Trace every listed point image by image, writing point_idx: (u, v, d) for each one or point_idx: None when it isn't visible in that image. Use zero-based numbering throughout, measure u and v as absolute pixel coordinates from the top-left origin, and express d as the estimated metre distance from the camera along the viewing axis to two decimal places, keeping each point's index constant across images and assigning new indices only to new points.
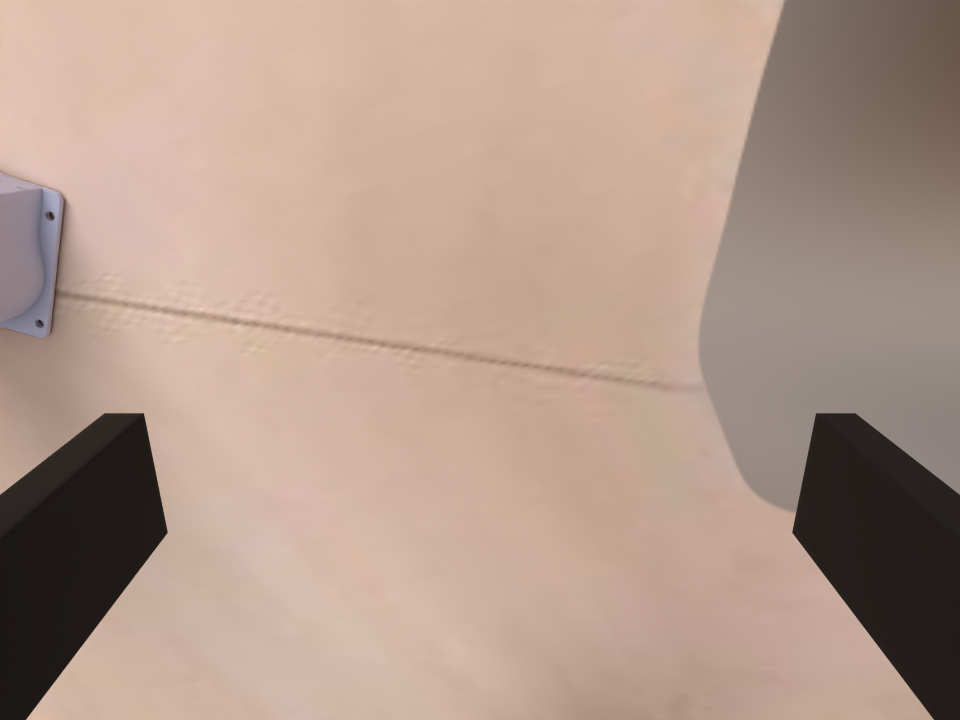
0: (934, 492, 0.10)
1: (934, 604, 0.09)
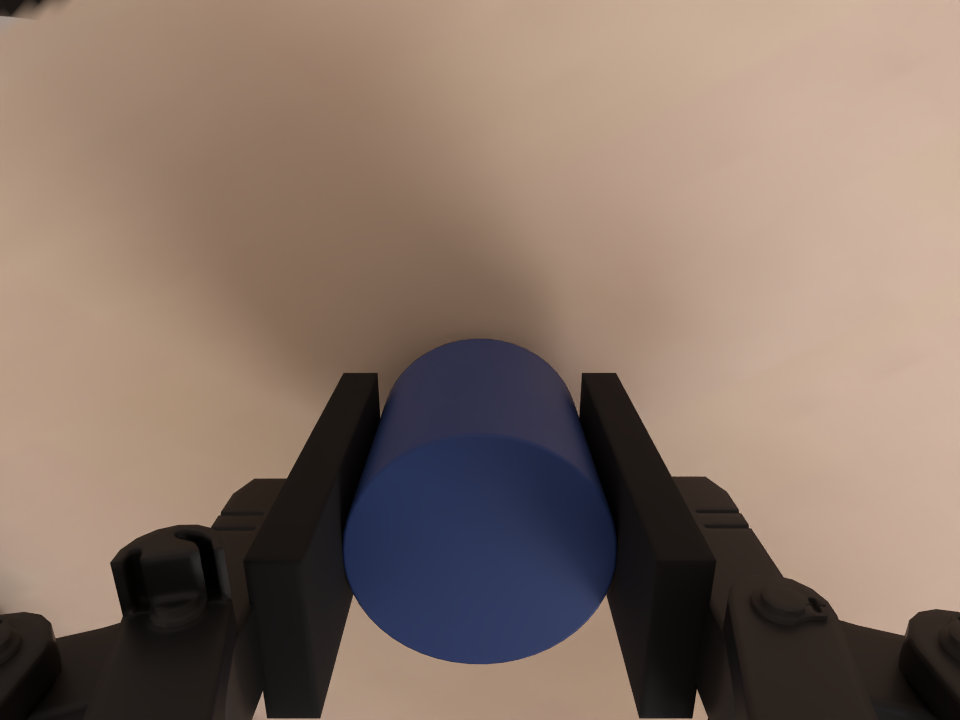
0: (627, 429, 0.12)
1: None
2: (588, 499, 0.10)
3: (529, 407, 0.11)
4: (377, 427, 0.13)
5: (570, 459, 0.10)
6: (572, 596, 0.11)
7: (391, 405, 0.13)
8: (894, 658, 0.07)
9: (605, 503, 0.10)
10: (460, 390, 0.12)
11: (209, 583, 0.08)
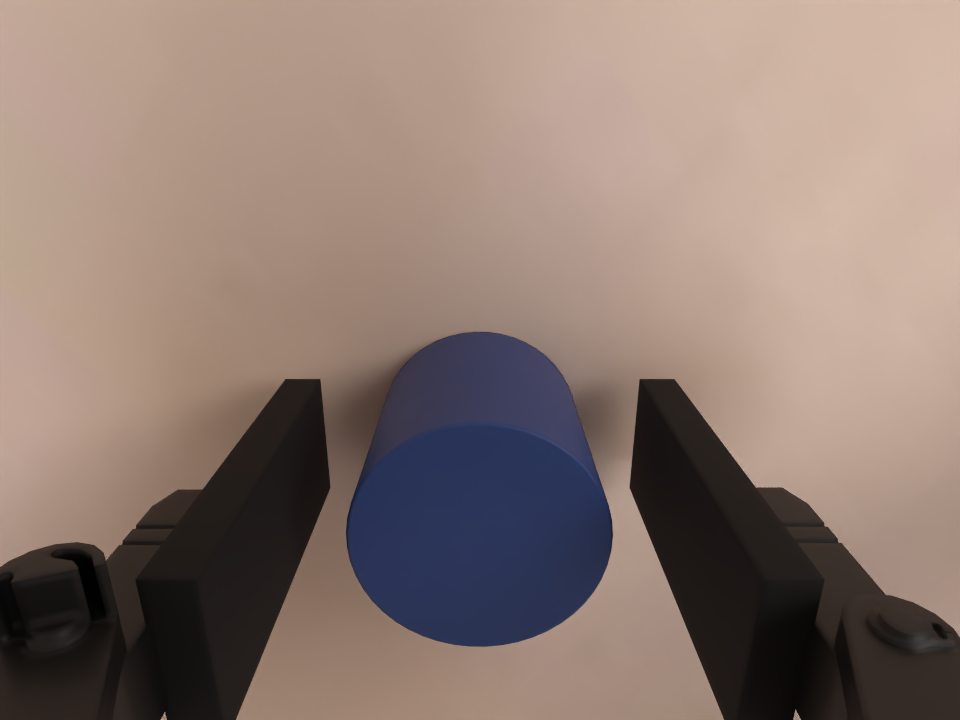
0: (699, 438, 0.11)
1: (687, 530, 0.11)
2: (585, 485, 0.11)
3: (527, 397, 0.12)
4: None
5: (566, 447, 0.10)
6: (569, 580, 0.11)
7: (393, 396, 0.13)
8: None
9: (600, 489, 0.11)
10: (460, 381, 0.12)
11: (92, 603, 0.08)
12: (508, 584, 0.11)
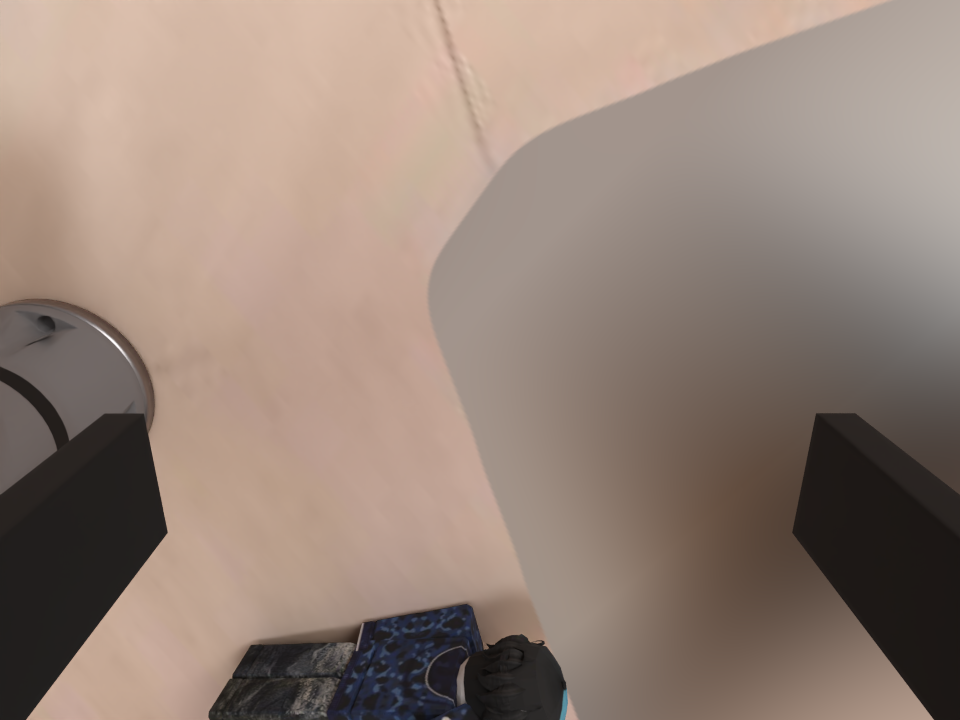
0: (934, 492, 0.10)
1: (934, 604, 0.09)
2: None
3: None
4: None
5: None
6: None
7: None
8: None
9: None
10: None
11: None
12: None
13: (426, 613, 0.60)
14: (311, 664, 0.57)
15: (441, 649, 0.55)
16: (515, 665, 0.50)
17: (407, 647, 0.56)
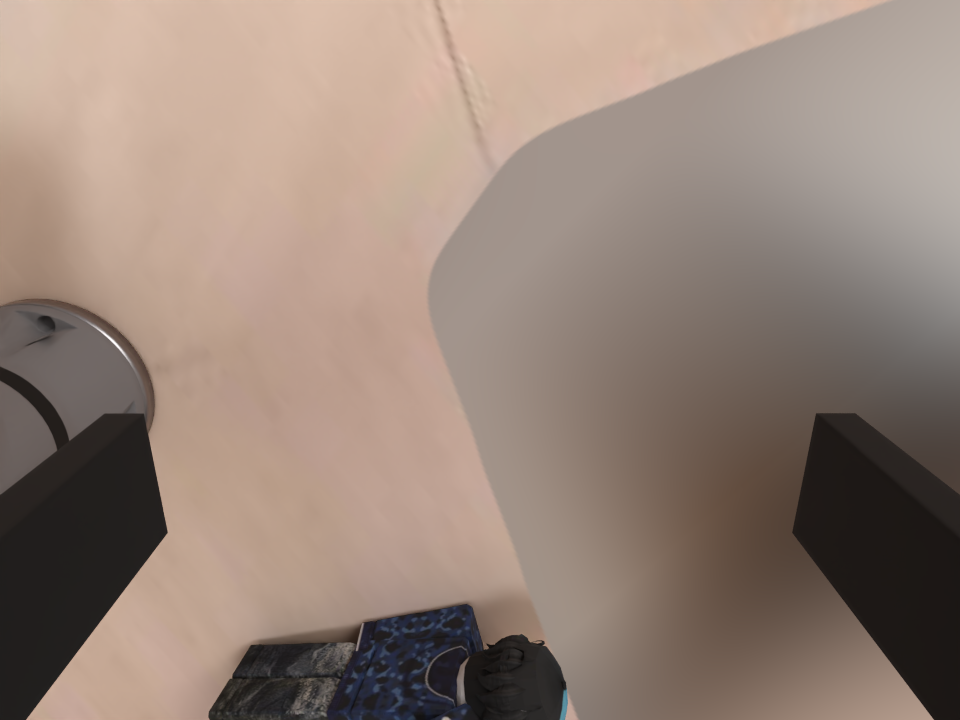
0: (934, 492, 0.10)
1: (934, 604, 0.09)
2: None
3: None
4: None
5: None
6: None
7: None
8: None
9: None
10: None
11: None
12: None
13: (426, 613, 0.60)
14: (311, 664, 0.57)
15: (441, 649, 0.55)
16: (515, 665, 0.50)
17: (407, 647, 0.56)
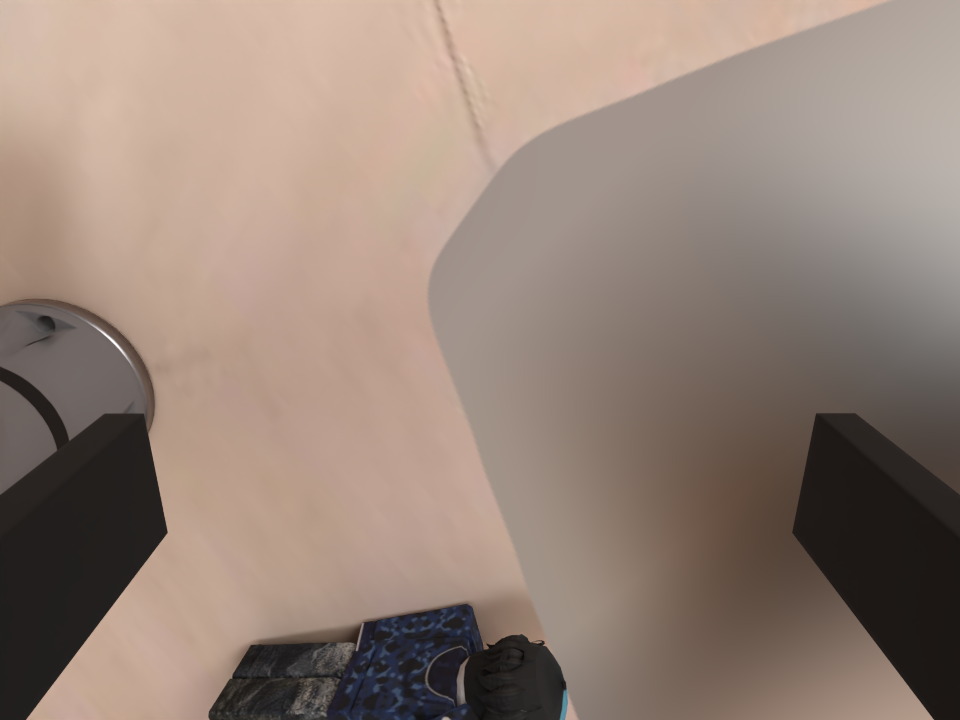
0: (934, 492, 0.10)
1: (934, 604, 0.09)
2: None
3: None
4: None
5: None
6: None
7: None
8: None
9: None
10: None
11: None
12: None
13: (426, 613, 0.60)
14: (311, 664, 0.57)
15: (441, 649, 0.55)
16: (515, 665, 0.50)
17: (407, 647, 0.56)
